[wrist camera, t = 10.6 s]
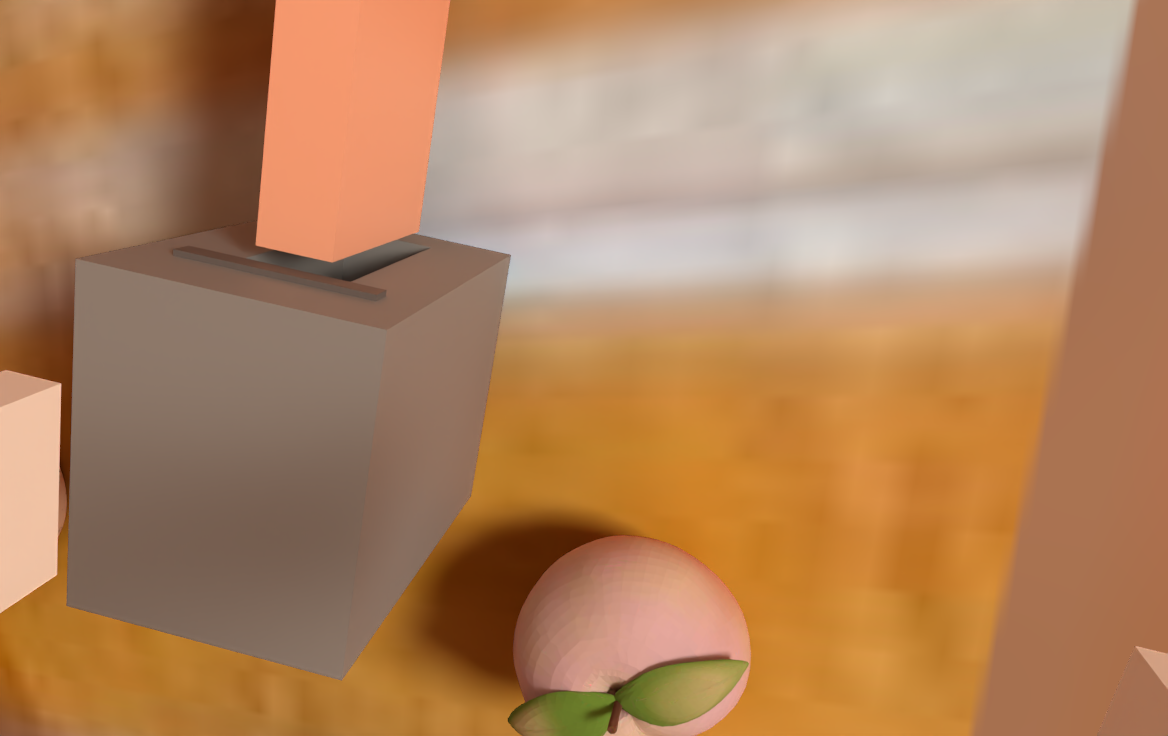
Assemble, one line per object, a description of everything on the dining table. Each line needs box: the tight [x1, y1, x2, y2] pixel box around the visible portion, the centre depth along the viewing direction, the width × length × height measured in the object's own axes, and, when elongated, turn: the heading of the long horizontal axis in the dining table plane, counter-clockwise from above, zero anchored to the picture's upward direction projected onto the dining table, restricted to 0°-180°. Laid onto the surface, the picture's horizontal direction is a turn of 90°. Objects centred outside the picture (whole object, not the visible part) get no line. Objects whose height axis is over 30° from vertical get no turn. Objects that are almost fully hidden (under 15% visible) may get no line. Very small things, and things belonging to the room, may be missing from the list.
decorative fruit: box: [508, 535, 751, 736], centre depth 36 cm, size 9×8×10 cm
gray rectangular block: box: [67, 220, 511, 680], centre depth 33 cm, size 11×9×14 cm
